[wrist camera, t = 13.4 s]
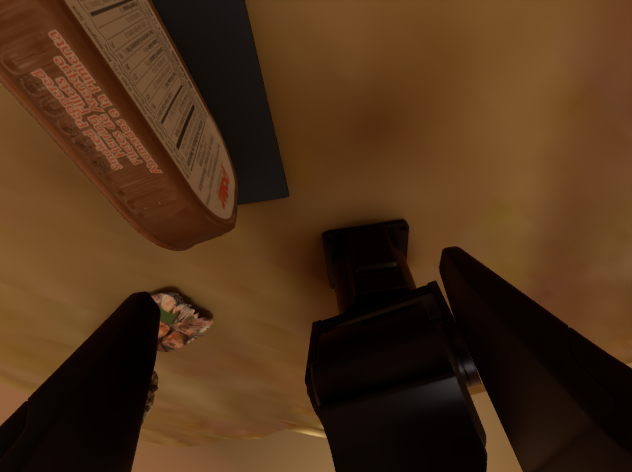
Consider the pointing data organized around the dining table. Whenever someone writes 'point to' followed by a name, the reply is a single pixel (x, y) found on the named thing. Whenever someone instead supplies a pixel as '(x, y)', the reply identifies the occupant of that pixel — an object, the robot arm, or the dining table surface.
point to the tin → (122, 112)
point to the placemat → (230, 88)
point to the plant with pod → (174, 331)
